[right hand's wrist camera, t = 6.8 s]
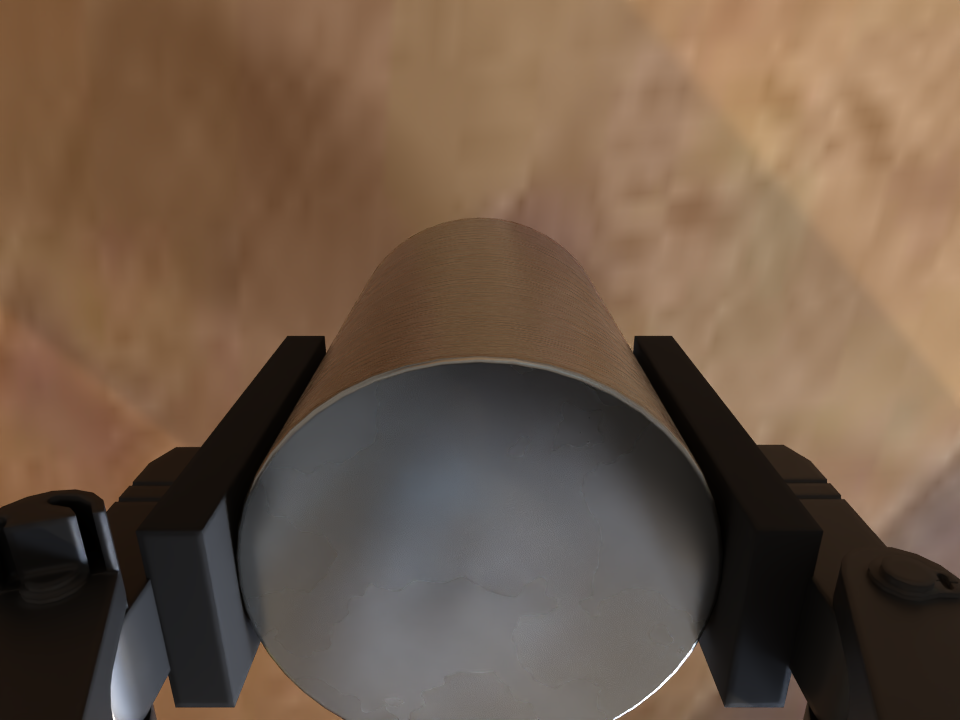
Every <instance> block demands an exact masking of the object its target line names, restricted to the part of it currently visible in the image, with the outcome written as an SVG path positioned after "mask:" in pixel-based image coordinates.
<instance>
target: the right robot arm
mask: <svg viewBox="0 0 960 720" xmlns="http://www.w3.org/2000/svg"><path fill="white" fill-rule="evenodd" d="M633 354H634V355H635V357H636V359H637V361H638V362H639V364H640V366H641V368H642V369H643V371H644V373H645V374H646V376H647V378H648V380H649V381H650V383H651V385H652V386H653V388H654V390H655V392H656V393H657V395H658V397H659V398H660V400H661V402H662V404H663V405H664V407H665V409H666V410H667V412H668V414H669V416H670V417H671V419H672V421H673V422H674V424H675V426H676V428H677V429H678V431H679V433H680V435H681V436H682V438H683V440H684V441H685V443H686V445H687V447H688V448H689V450H690V452H691V453H692V455H693V457H694V459H695V460H696V462H697V464H698V465H699V467H700V469H701V471H702V472H703V474H704V477H705V479H706V481H707V484H708V486H709V488H710V490H711V493H712V495H713V497H714V500H715V504H716V508H717V512H718V516H719V520H720V524H721V532H722V544H723V560H722V573H721V582H720V586H719V590H718V595H717V599H716V603H715V607H714V609H713V611H712V614H711V616H710V619H709V621H708V624H707V626H706V629H705V631H704V632H703V634H702V636H701V637H700V639H699V643H700V646H701V648H702V651H703V653H704V656H705V658H706V661H707V664H708V666H709V669H710V671H711V674H712V676H713V679H714V681H715V684H716V686H717V689H718V691H719V694H720V696H721V699H722V701H723V704H724V706H725V707H784V703H785V699H786V695H787V690H788V686H789V681H790V677H791V673H792V674H793V676H794V678H795V679H796V681H797V683H798V685H799V687H800V689H801V691H802V693H803V694H804V696H805V698H806V700H807V706H806V710H805V714H804V718H803V720H960V579H959V578H957V577H956V576H955V575H953V574H952V573H950V572H949V571H948V570H946V569H945V568H943V567H942V566H941V565H939V564H937V563H935V562H932V561H930V560H928V559H926V558H924V557H922V556H920V555H917V554H914V553H911V552H907V551H903V550H900V549H896V548H892V547H886V545H885V544H884V543H883V542H882V541H881V540H880V539H879V538H878V536H877V535H876V534H875V533H874V532H873V531H872V530H871V529H870V527H869V526H868V525H867V524H866V523H865V522H864V521H863V520H862V518H861V517H860V516H859V515H858V514H857V513H856V512H855V511H854V509H853V508H852V507H851V506H850V505H849V504H848V503H847V502H846V500H845V499H841V495H840V494H839V493H838V491H837V490H836V489H835V488H834V487H833V486H832V485H831V484H830V483H827V479H826V478H825V477H824V476H823V475H822V473H821V472H820V471H819V470H818V469H817V468H816V467H815V466H814V464H813V463H812V462H811V461H810V460H808V459H806V458H805V457H803V456H801V455H800V454H798V453H796V452H795V451H793V450H791V449H790V448H788V447H786V446H784V445H756V443H755V442H754V441H753V440H752V438H751V437H750V436H749V434H748V433H747V432H746V431H745V429H744V428H743V427H742V425H741V424H740V423H739V422H738V420H737V419H736V418H735V417H734V415H733V414H732V413H731V411H730V410H729V409H728V408H727V406H726V405H725V404H724V402H723V401H722V400H721V399H720V397H719V396H718V395H717V393H716V392H715V391H714V390H713V388H712V387H711V386H710V384H709V383H708V382H707V381H706V379H705V378H704V377H703V375H702V374H701V373H700V372H699V370H698V369H697V368H696V366H695V365H694V364H693V363H692V361H691V360H690V359H689V357H688V356H687V355H686V354H685V352H684V351H683V350H682V348H681V347H680V346H679V345H678V343H677V342H676V341H675V339H674V338H673V337H672V336H635V339H634V350H633ZM325 355H326V347H325V336H287V337H286V338H285V340H284V341H283V342H282V344H281V345H280V346H279V347H278V349H277V350H276V351H275V353H274V354H273V355H272V356H271V358H270V359H269V360H268V362H267V363H266V364H265V365H264V367H263V368H262V369H261V371H260V372H259V373H258V374H257V376H256V377H255V378H254V380H253V381H252V382H251V383H250V385H249V386H248V387H247V389H246V390H245V391H244V392H243V394H242V395H241V396H240V398H239V399H238V400H237V401H236V403H235V404H234V405H233V407H232V408H231V409H230V410H229V412H228V413H227V414H226V415H225V417H224V418H223V419H222V421H221V422H220V423H219V424H218V426H217V427H216V428H215V430H214V431H213V432H212V433H211V435H210V436H209V437H208V439H207V440H206V441H205V442H204V444H203V445H202V446H201V447H176V448H174V449H172V450H171V451H169V452H167V453H166V454H164V455H162V456H161V457H159V458H157V459H156V460H154V461H152V462H151V463H149V464H148V465H147V466H146V468H145V469H144V470H143V471H142V472H141V473H140V474H139V476H138V477H137V478H136V479H135V480H134V481H133V485H132V486H129V487H128V488H127V489H126V490H125V491H124V493H123V494H122V495H121V496H120V497H119V502H115V503H114V504H113V505H112V506H111V507H110V508H109V510H108V511H107V512H106V509H105V505H104V501H103V500H102V499H101V498H100V497H98V496H97V495H96V494H94V493H92V492H87V491H81V490H60V491H50V492H46V493H42V494H37V495H33V496H29V497H26V498H23V499H21V500H18V501H16V502H13V503H11V504H8V505H6V506H3V507H1V508H0V720H157V718H156V714H155V710H154V706H153V702H154V700H155V698H156V697H157V695H158V693H159V691H160V689H161V687H162V685H163V683H164V682H165V680H166V678H167V676H169V680H170V685H171V689H172V694H173V698H174V702H175V707H235V705H236V702H237V700H238V697H239V694H240V692H241V689H242V687H243V684H244V682H245V679H246V677H247V674H248V672H249V669H250V667H251V664H252V662H253V659H254V657H255V654H256V652H257V649H258V647H259V644H260V639H259V637H258V636H257V634H256V632H255V630H254V628H253V625H252V623H251V621H250V618H249V616H248V614H247V611H246V609H245V605H244V602H243V598H242V594H241V590H240V586H239V580H238V570H237V559H236V548H237V533H238V525H239V521H240V517H241V513H242V508H243V504H244V501H245V498H246V496H247V493H248V491H249V489H250V486H251V484H252V481H253V479H254V477H255V475H256V473H257V471H258V469H259V468H260V466H261V464H262V463H263V461H264V459H265V457H266V456H267V454H268V452H269V451H270V449H271V447H272V445H273V444H274V442H275V440H276V439H277V437H278V435H279V433H280V432H281V430H282V428H283V427H284V425H285V423H286V421H287V420H288V418H289V416H290V415H291V413H292V411H293V409H294V408H295V406H296V404H297V403H298V401H299V399H300V397H301V396H302V394H303V392H304V391H305V389H306V387H307V385H308V384H309V382H310V380H311V379H312V377H313V375H314V374H315V372H316V370H317V368H318V367H319V365H320V363H321V362H322V360H323V358H324V356H325Z"/></svg>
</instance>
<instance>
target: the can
mask: <svg viewBox="0 0 960 720" xmlns="http://www.w3.org/2000/svg"><path fill="white" fill-rule="evenodd" d="M236 559H237V570H238V580H239V586H240V590H241V594H242V598H243V602H244V605H245V609H246V611H247V614H248V616H249V618H250V621H251V623H252V625H253V628H254V630H255V632H256V634H257V636H258V637H259V639H260V641H261V642H262V644H263V645H264V647H265V649H266V650H267V652H268V654H269V655H270V656H271V657H272V659H273V660H274V661H275V662H276V664H277V665H278V666H279V667H280V669H281V670H282V671H283V672H284V674H285V675H286V676H287V677H288V678H290V679H291V680H292V681H293V682H294V683H295V684H296V685H297V686H298V687H299V688H300V689H301V690H302V691H303V692H304V693H305V694H307V695H308V696H309V697H311V698H312V699H313V700H315V701H316V702H317V703H319V704H320V705H321V706H323V707H324V708H325V709H327V710H329V711H330V712H332V713H334V714H336V715H337V716H339V717H341V718H342V719H344V720H616V719H617V718H619V717H620V716H622V715H624V714H625V713H627V712H629V711H630V710H632V709H634V708H635V707H637V706H638V705H639V704H641V703H642V702H643V701H645V700H646V699H647V698H648V697H650V696H651V695H652V694H654V693H655V692H656V691H657V690H659V689H660V688H661V687H662V686H663V685H664V684H665V683H666V682H667V681H668V680H669V679H670V678H671V677H672V676H673V675H674V674H675V673H676V672H677V670H678V669H679V668H680V667H681V665H682V664H683V663H684V661H685V660H686V659H687V658H688V656H689V655H690V654H691V653H692V651H693V649H694V648H695V646H696V644H697V643H698V641H699V639H700V637H701V636H702V634H703V632H704V631H705V629H706V626H707V624H708V621H709V619H710V616H711V614H712V611H713V609H714V607H715V603H716V599H717V595H718V590H719V586H720V582H721V573H722V560H723V544H722V532H721V524H720V520H719V516H718V512H717V508H716V504H715V500H714V497H713V495H712V493H711V490H710V488H709V486H708V484H707V481H706V479H705V477H704V474H703V472H702V471H701V469H700V467H699V465H698V464H697V462H696V460H695V459H694V457H693V455H692V453H691V452H690V450H689V448H688V447H687V445H686V443H685V441H684V440H683V438H682V436H681V435H680V433H679V431H678V429H677V428H676V426H675V424H674V422H673V421H672V419H671V417H670V416H669V414H668V412H667V410H666V409H665V407H664V405H663V404H662V402H661V400H660V398H659V397H658V395H657V393H656V392H655V390H654V388H653V386H652V385H651V383H650V381H649V380H648V378H647V376H646V374H645V373H644V371H643V369H642V368H641V366H640V364H639V362H638V361H637V359H636V357H635V355H634V354H633V352H632V350H631V349H630V347H629V345H628V343H627V342H626V340H625V338H624V337H623V335H622V333H621V331H620V330H619V328H618V326H617V325H616V323H615V321H614V319H613V318H612V316H611V314H610V313H609V311H608V309H607V307H606V306H605V304H604V302H603V301H602V299H601V297H600V295H599V294H598V292H597V290H596V288H595V287H594V285H593V283H592V282H591V280H590V279H589V277H588V275H587V274H586V272H585V271H584V269H583V268H582V267H581V265H580V264H579V263H578V262H577V261H576V260H575V258H574V257H573V256H572V255H571V254H570V253H568V252H567V251H566V250H565V249H564V248H563V247H562V246H561V245H559V244H558V243H556V242H555V241H553V240H552V239H550V238H549V237H547V236H546V235H544V234H542V233H540V232H538V231H536V230H534V229H532V228H530V227H527V226H524V225H521V224H518V223H515V222H510V221H505V220H500V219H491V218H469V219H459V220H454V221H450V222H445V223H442V224H439V225H436V226H433V227H430V228H427V229H425V230H424V231H422V232H420V233H418V234H416V235H414V236H412V237H410V238H409V239H408V240H406V241H405V242H403V243H402V244H400V245H399V246H398V247H397V248H395V249H394V250H393V251H392V252H391V253H390V254H389V255H388V256H387V257H386V258H385V259H384V260H383V261H382V263H381V264H380V265H379V266H378V267H377V269H376V270H375V271H374V273H373V275H372V276H371V278H370V280H369V281H368V283H367V284H366V286H365V288H364V290H363V291H362V293H361V295H360V296H359V298H358V300H357V302H356V303H355V305H354V307H353V308H352V310H351V312H350V314H349V315H348V317H347V319H346V320H345V322H344V324H343V326H342V327H341V329H340V331H339V332H338V334H337V336H336V338H335V339H334V341H333V343H332V344H331V346H330V348H329V350H328V351H327V353H326V355H325V356H324V358H323V360H322V362H321V363H320V365H319V367H318V368H317V370H316V372H315V374H314V375H313V377H312V379H311V380H310V382H309V384H308V385H307V387H306V389H305V391H304V392H303V394H302V396H301V397H300V399H299V401H298V403H297V404H296V406H295V408H294V409H293V411H292V413H291V415H290V416H289V418H288V420H287V421H286V423H285V425H284V427H283V428H282V430H281V432H280V433H279V435H278V437H277V439H276V440H275V442H274V444H273V445H272V447H271V449H270V451H269V452H268V454H267V456H266V457H265V459H264V461H263V463H262V464H261V466H260V468H259V469H258V471H257V473H256V475H255V477H254V479H253V481H252V484H251V486H250V489H249V491H248V493H247V496H246V498H245V501H244V504H243V508H242V513H241V517H240V521H239V525H238V533H237V548H236Z"/></svg>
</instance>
